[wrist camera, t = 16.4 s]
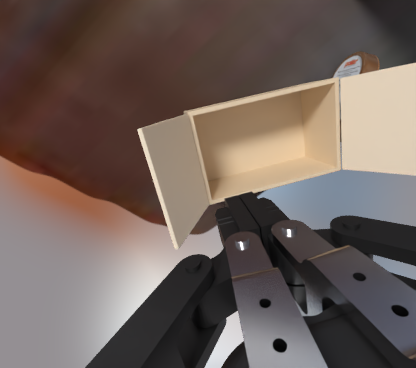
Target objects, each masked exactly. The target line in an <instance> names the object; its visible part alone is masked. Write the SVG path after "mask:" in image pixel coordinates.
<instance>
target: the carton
mask: <svg viewBox="0 0 416 368" xmlns="http://www.w3.org/2000/svg"><path fill="white" fill-rule="evenodd" d="M185 114H188V117H189V121H190V125H191V130H192V134H193V138H194V142H195V146H196V151H197V155H198V159H199V163H200V168H201V172H202V176H203V180H204V185H205V189H206V193H207V197H208V201H209V205H211V204H215V203H218V202H222V201H225V200H224V198H228V197H232V196H236V195H240V194H244V193H247V192H251V191H252V192H253V193H256V192H260V191H264V190H268V189H271V188H275V187H279V186H282V185H286V184H290V183H294V182H297V181H302V180H305V179H309V178H313V177H317V176H320V175H324V174H328V173H332V172H336V171H339V170H341V158H340V157H341V156H340V108H339V77H336V78H331V79H326V80H320V81H315V82H310V83H305V84H300V85H295V86H291V87H287V88H282V89H278V90H274V91H270V92H265V93H261V94H257V95H252V96H248V97H244V98H239V99H235V100H231V101H227V102H222V103H218V104H214V105H209V106H205V107H201V108H196V109H192V110H188V111H184V115H185Z"/></svg>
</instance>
